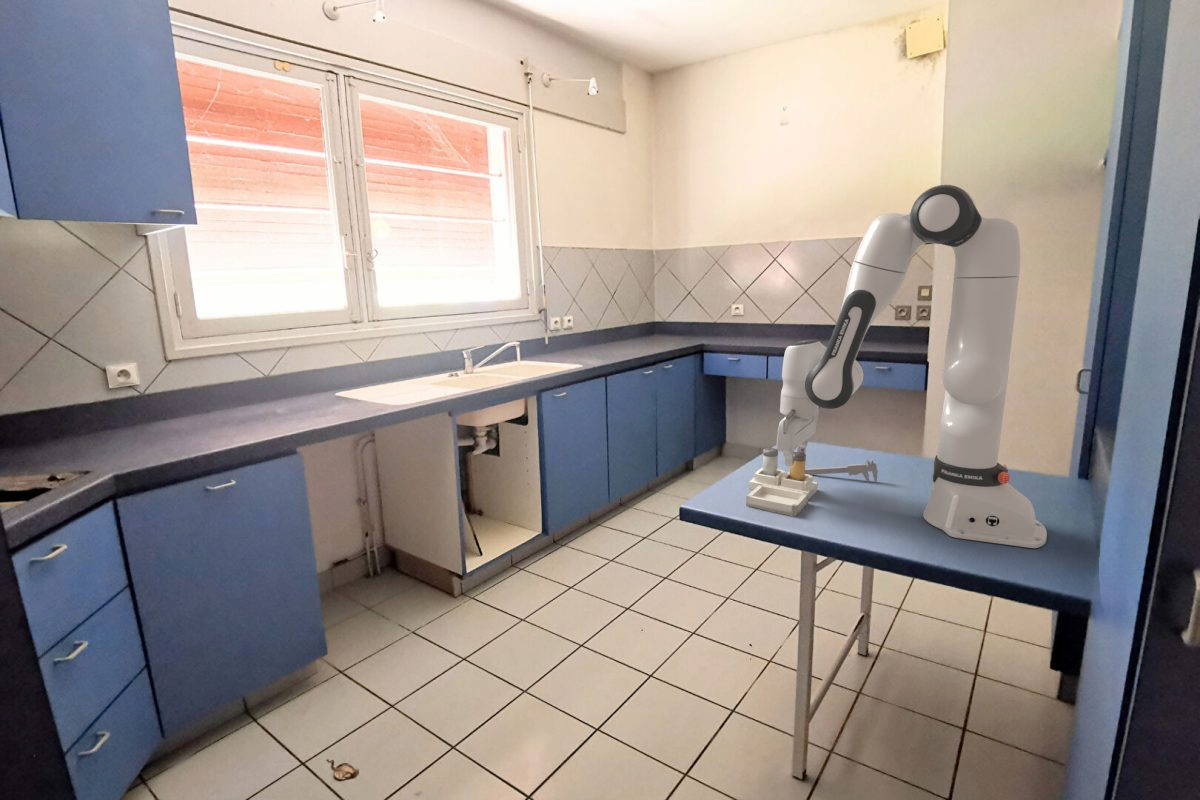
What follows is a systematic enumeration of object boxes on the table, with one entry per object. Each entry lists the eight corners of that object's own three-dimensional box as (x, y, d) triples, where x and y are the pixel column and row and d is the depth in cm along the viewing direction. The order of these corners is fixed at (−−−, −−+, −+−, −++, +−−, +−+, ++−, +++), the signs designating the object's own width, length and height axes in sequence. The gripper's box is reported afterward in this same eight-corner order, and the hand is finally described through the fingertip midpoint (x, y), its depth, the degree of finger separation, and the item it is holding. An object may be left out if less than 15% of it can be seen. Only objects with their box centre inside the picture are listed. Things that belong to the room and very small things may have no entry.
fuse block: (817, 489, 152) (819, 452, 150) (807, 500, 146) (809, 461, 143) (760, 479, 160) (761, 443, 158) (748, 488, 154) (749, 452, 152)
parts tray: (807, 503, 144) (808, 493, 144) (795, 516, 137) (796, 506, 136) (759, 493, 151) (760, 484, 150) (746, 505, 144) (746, 496, 143)
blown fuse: (806, 483, 151) (807, 453, 149) (801, 488, 148) (803, 457, 146) (791, 480, 153) (793, 451, 151) (787, 485, 150) (788, 455, 148)
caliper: (876, 482, 156) (878, 459, 154) (876, 484, 155) (878, 461, 154) (795, 473, 164) (796, 451, 163) (794, 474, 164) (795, 452, 162)
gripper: (798, 417, 136) (794, 474, 139) (823, 399, 152) (820, 450, 155) (771, 413, 140) (768, 469, 143) (799, 396, 156) (795, 446, 159)
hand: (795, 459), depth 149 cm, fingers open, 8 cm apart
